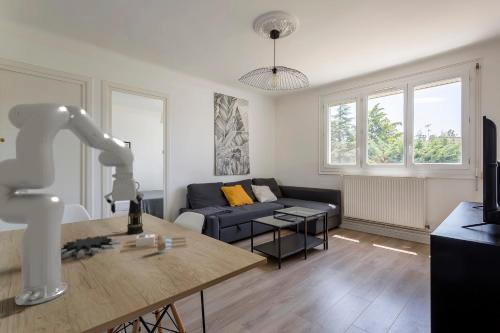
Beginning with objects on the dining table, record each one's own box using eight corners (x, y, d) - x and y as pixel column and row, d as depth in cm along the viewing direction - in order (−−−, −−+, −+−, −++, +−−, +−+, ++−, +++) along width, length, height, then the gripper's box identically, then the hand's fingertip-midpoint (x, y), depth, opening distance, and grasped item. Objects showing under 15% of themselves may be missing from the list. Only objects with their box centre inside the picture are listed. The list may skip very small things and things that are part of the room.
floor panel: (186, 249, 119) (186, 247, 119) (118, 256, 111) (118, 253, 111) (184, 237, 138) (184, 235, 138) (127, 242, 130) (127, 240, 130)
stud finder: (154, 245, 122) (154, 236, 122) (136, 246, 120) (136, 237, 120) (154, 242, 127) (154, 233, 127) (137, 243, 125) (137, 235, 125)
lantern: (135, 235, 144) (135, 182, 143) (122, 233, 147) (122, 182, 146) (146, 231, 152) (146, 181, 152) (134, 230, 155) (133, 181, 155)
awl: (165, 256, 111) (165, 236, 111) (157, 256, 110) (157, 237, 110) (165, 253, 114) (165, 234, 114) (157, 254, 113) (157, 235, 113)
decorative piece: (88, 231, 138) (136, 234, 132) (88, 238, 138) (136, 241, 132) (29, 250, 109) (89, 255, 103) (30, 259, 109) (89, 264, 103)
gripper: (102, 177, 115) (102, 215, 115) (143, 176, 120) (143, 212, 120) (105, 176, 122) (106, 211, 122) (144, 175, 127) (145, 209, 127)
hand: (125, 212), depth 121 cm, fingers open, 9 cm apart
